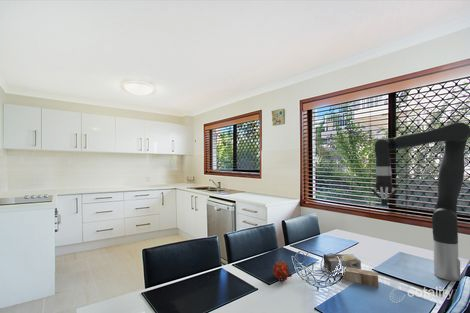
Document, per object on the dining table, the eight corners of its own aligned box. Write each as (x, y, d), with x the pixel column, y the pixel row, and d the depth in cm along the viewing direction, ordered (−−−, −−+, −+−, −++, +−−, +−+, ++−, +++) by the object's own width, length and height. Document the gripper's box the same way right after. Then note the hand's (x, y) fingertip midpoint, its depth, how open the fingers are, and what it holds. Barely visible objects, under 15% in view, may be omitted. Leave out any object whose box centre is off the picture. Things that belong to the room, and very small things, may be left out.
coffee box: (352, 265, 134) (323, 265, 134) (352, 253, 134) (323, 254, 134) (361, 273, 125) (329, 273, 125) (361, 260, 125) (329, 260, 125)
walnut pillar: (378, 276, 111) (341, 270, 118) (378, 287, 111) (342, 281, 118) (377, 272, 116) (342, 266, 122) (377, 282, 115) (342, 276, 122)
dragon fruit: (279, 275, 127) (286, 291, 115) (266, 266, 126) (271, 281, 114) (289, 262, 126) (297, 276, 114) (276, 254, 125) (282, 267, 113)
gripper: (396, 174, 137) (397, 205, 137) (370, 174, 144) (370, 203, 143) (398, 175, 131) (399, 207, 130) (370, 174, 137) (370, 205, 137)
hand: (384, 205), depth 137 cm, fingers closed
